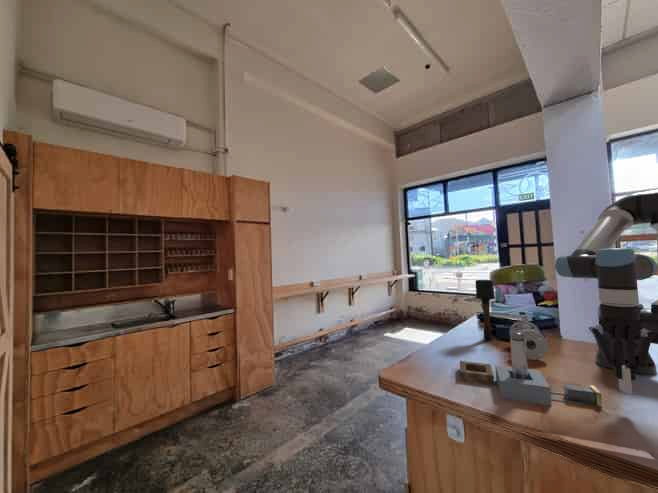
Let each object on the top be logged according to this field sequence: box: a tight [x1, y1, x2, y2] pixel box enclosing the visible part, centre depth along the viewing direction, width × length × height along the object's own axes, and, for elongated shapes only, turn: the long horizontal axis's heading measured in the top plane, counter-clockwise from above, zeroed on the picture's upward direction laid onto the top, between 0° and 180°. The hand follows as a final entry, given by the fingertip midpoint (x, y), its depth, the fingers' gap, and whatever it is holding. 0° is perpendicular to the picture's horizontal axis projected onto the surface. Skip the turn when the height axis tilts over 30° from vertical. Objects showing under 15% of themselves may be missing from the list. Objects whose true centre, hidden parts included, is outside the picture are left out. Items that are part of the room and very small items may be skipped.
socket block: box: [495, 365, 585, 407], centre depth 82 cm, size 20×12×6 cm, turn 65°
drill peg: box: [509, 332, 529, 380], centre depth 84 cm, size 4×4×18 cm
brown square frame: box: [459, 360, 495, 386], centre depth 95 cm, size 10×10×4 cm
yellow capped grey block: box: [563, 383, 603, 408], centre depth 78 cm, size 7×4×4 cm, turn 65°
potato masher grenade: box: [475, 279, 496, 342], centre depth 137 cm, size 8×9×30 cm
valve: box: [508, 311, 550, 361], centre depth 120 cm, size 22×12×15 cm, turn 151°
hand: (625, 391), depth 74 cm, fingers closed
